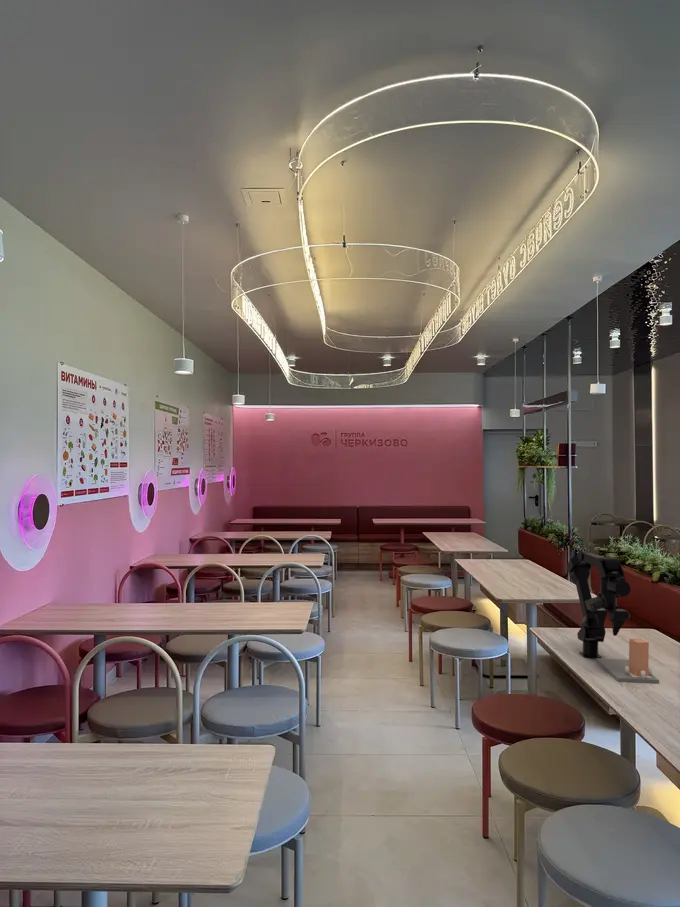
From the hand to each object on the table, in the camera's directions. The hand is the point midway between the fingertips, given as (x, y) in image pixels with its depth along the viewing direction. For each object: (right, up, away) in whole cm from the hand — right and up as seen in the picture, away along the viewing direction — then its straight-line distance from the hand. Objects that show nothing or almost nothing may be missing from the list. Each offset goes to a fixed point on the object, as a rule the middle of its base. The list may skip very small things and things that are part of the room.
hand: (607, 632), depth 229 cm
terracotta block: (+6, -12, -12) cm, 18 cm away
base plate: (+4, -13, -6) cm, 15 cm away
